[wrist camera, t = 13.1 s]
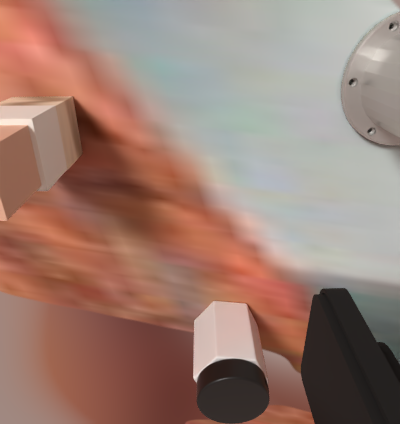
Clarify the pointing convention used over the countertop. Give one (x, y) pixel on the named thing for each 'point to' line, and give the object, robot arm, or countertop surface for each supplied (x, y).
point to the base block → (65, 120)
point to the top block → (16, 169)
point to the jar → (229, 364)
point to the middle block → (40, 139)
